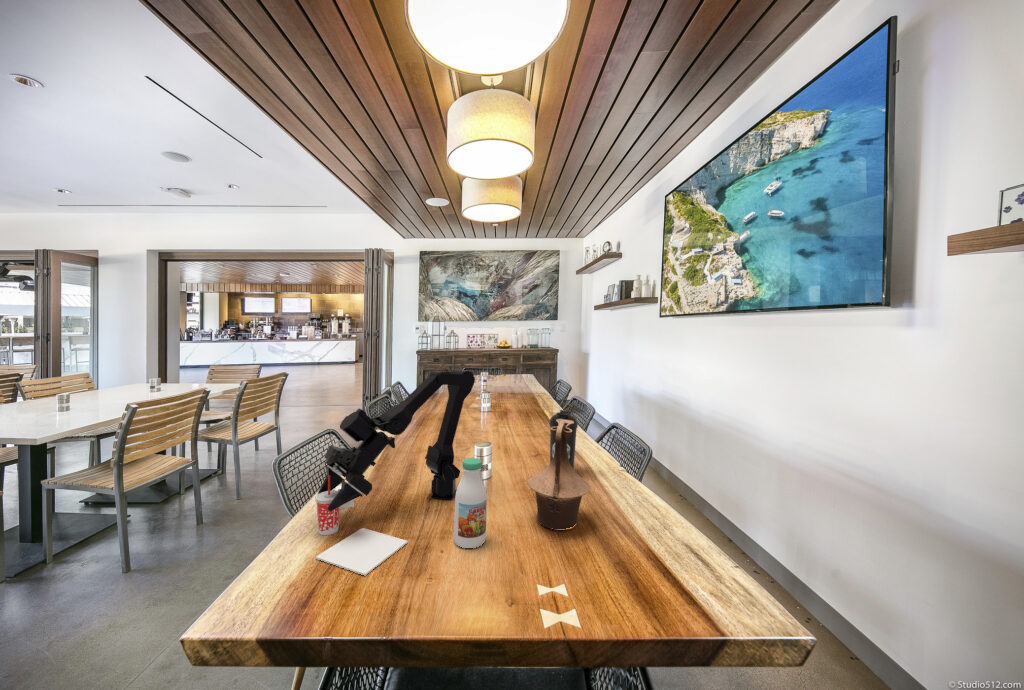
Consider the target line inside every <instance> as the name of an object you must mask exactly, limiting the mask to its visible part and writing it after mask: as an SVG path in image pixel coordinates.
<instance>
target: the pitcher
mask: <svg viewBox="0 0 1024 690" xmlns="http://www.w3.org/2000/svg"><path fill="white" fill-rule="evenodd" d="M556 422H557V423H558V426H556V427H551V431H552V433H553V435H554V437H555V454H554V457H553V460H552V461H551V463H550V462H549V464H548V465H547V467H546V468H544V469H542V470H541V471H540V472H539V473H537V474H535V475H534V476H531V477H530V478H529V479H528V480H527V486H528V488H529V489H530V490H532V491H534V492H535V497H536V498H535V500H536V510H537V518H536V519H538V520H537V522H538V524H540V523H541V524H542V525H544V526H546V527H548V528H553V529H566V528H570V527H573V526H574V525H575V524H576V523H577V524H578V515H579V511H580V506H581V501H582V497H583V496H584V495H587V494H588V493H589V492H590V490H591V485H590V484H589V483H588V482H587V481H586V480H584V479H583V478H582V477H581V476H580V475H579V474H578V473H577V472H576V471H575V469H574V470H573V468H572V466H571V464H570V462H569V459H568V453H567V439H568V438H569V436H570V434H571V433H572V430H571V429H569V427H570V426H571V425H572V424H574V421H571V420H562V419H557V420H556ZM565 423H568V424H567V425H566V426H565ZM541 524H540V525H541ZM542 525H541V526H542ZM544 526H543V527H544ZM546 527H545V528H546ZM548 528H547V529H548Z"/></svg>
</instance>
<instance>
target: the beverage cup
mask: <svg viewBox="0 0 1024 690" xmlns="http://www.w3.org/2000/svg"><path fill="white" fill-rule="evenodd" d="M338 492H339V491H335V490H334V489H333V490H332V491H330V475H329V476H328V491H325V492H322V493H319V494H318V493H317V494H318V495H317V494H316V495H315V502H316V513H317V515H316V517H317V530H318V531H317V533H318V535H320V536H330V535H333V534H335V533H337V532H338V531H339V524H340V514H341V509H340V507H338V508H336V509H334V510H332V511H329V510H328V509H327V508H328V507H329V505H330V503H331V502H332V501H333V499H334V498H335V496H336V495H337V494H338Z"/></svg>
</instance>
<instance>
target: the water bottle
mask: <svg viewBox="0 0 1024 690" xmlns="http://www.w3.org/2000/svg"><path fill="white" fill-rule="evenodd" d="M571 413H572V412H571V410H567V409H566V410H565V409H560V410H559V412H556V413H555V414H554V415H552V416H551V417H550V419H549V424H548V425H549V427H550V428H549V429H550V431H549V436H550V437H549V439H550V440H549V464H550V463H551V461H552V460H553V457H554V454H555V437H554V435H553V433H552V431H551V427H556V426H558V423H557V422H556V420H557V419H562V420H571V421H574V424H572V425H571V426H570V427H569V429H571V430H572V433H571V434H570V436H569V438H568V439H567V453H568V459H569V462H570V464H571V466H572V468H573V470H574V471H575V456H576V455H575V454H576V442H577V429H578V426H579V425H578V424H579V422H578V419H577V418H576V417H575V416H574V415H572V414H571ZM567 424H568V423H565V426H566V425H567Z"/></svg>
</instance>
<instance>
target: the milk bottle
mask: <svg viewBox="0 0 1024 690" xmlns="http://www.w3.org/2000/svg"><path fill="white" fill-rule="evenodd" d="M461 470H462V476H461V479H460V481H459V483H458V485H457V488H456V489H455V490H456V494H455V495H454V519H453V520H454V521H453V522H454V523H453V542H454V544H455V545H456V546H457V545H458V546H457V547H459V546H460V547H459V548H461V547H462V548H461V549H465V548H473V549H477V548H480V547H481V546H483V545H482V544H483V543H484V544H485V542H486V538H487V537H486V535H487V534H486V533H487V505H488V504H487V502H488V501H487V500H488V499H487V489H486V486H485V483H484V480H483V479H482V474H481V471H482V460H481V459H479V458H478V457H469V458H465V459H463V460H462V468H461ZM479 546H480V547H479ZM476 547H477V548H476Z"/></svg>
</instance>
